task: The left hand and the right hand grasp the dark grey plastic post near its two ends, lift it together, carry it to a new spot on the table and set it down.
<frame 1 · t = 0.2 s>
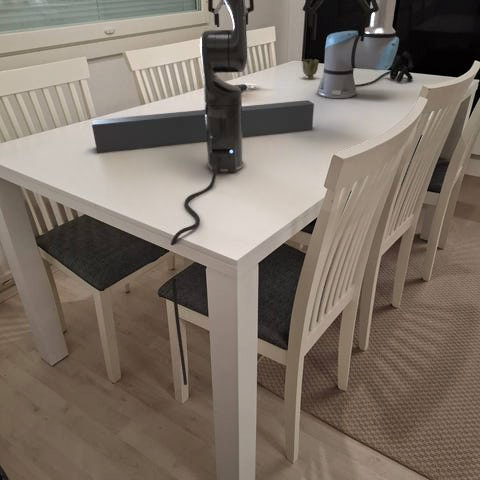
left hand: (231, 26, 142), 29 cm above the table, tool pointing down, fingers open, 8 cm apart
right hand: (337, 40, 126), 27 cm above the table, tool pointing down, fingers open, 13 cm apart
cup: (309, 78, 206), on the table
squiggle: (399, 80, 200), on the table
spray bottle: (234, 93, 185), on the table
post: (208, 138, 139), on the table
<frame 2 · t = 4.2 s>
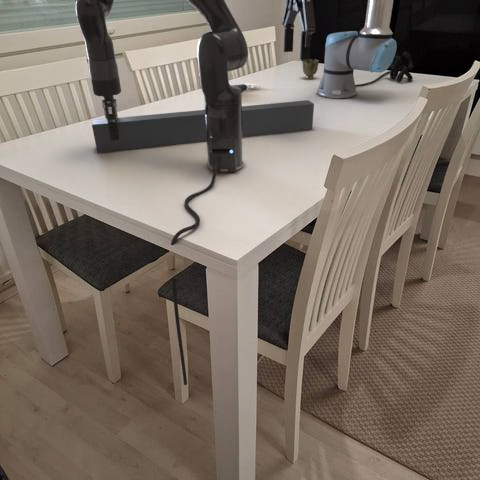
left hand: (115, 136, 131), 4 cm above the table, tool pointing down, fingers closed on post, 4 cm apart
right hand: (296, 55, 133), 22 cm above the table, tool pointing down, fingers open, 13 cm apart
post: (208, 138, 139), on the table, touching left hand
everything else where it was.
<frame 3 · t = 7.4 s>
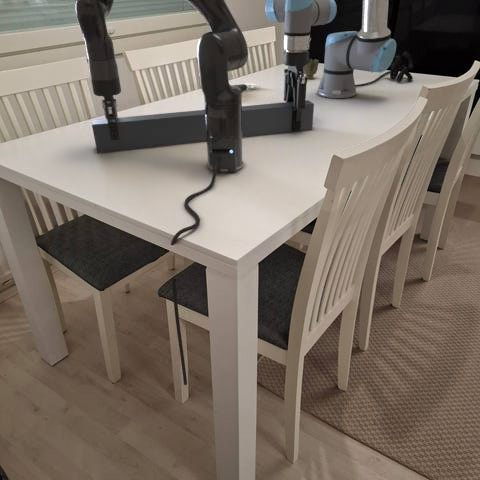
left hand: (115, 136, 131), 4 cm above the table, tool pointing down, fingers closed on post, 4 cm apart
right hand: (292, 127, 144), 1 cm above the table, tool pointing down, fingers closed on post, 5 cm apart
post: (208, 138, 139), on the table, touching left hand, right hand
everything else where it was.
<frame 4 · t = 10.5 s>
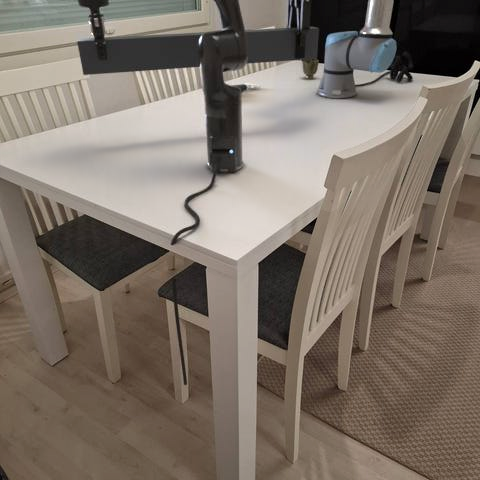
left hand: (103, 57, 120), 25 cm above the table, tool pointing down, fingers closed on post, 4 cm apart
right hand: (296, 56, 134), 22 cm above the table, tool pointing down, fingers closed on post, 5 cm apart
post: (205, 64, 128), point 21 cm above the table, touching left hand, right hand
everything else where it was.
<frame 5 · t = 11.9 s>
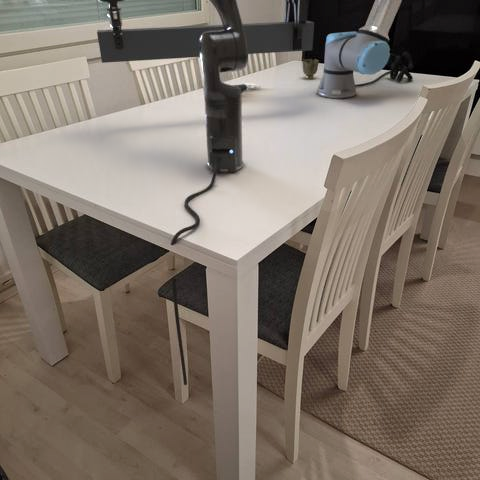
left hand: (119, 47, 134), 25 cm above the table, tool pointing down, fingers closed on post, 4 cm apart
right hand: (294, 47, 147), 22 cm above the table, tool pointing down, fingers closed on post, 5 cm apart
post: (211, 55, 142), point 21 cm above the table, touching left hand, right hand
everything else where it was.
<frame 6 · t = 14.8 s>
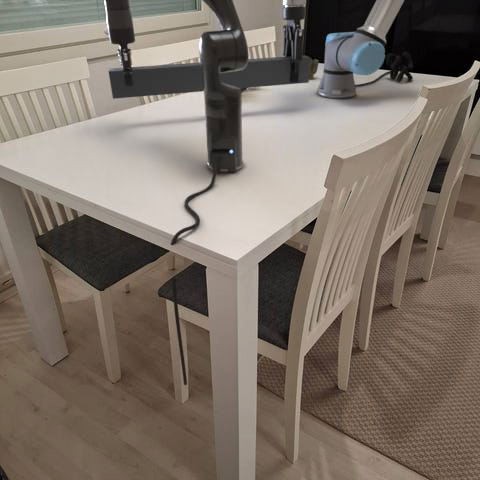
left hand: (129, 83, 144), 14 cm above the table, tool pointing down, fingers closed on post, 4 cm apart
right hand: (291, 80, 157), 11 cm above the table, tool pointing down, fingers closed on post, 5 cm apart
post: (214, 88, 152), point 10 cm above the table, touching left hand, right hand
everything else where it was.
when the right hand's fingers open (2 cm above the table, at t = 16.8 s): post drops 1 cm, on the table.
when the left hand's fingers open (5 cm above the table, at t = 16.9 s): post stays where it is, on the table.
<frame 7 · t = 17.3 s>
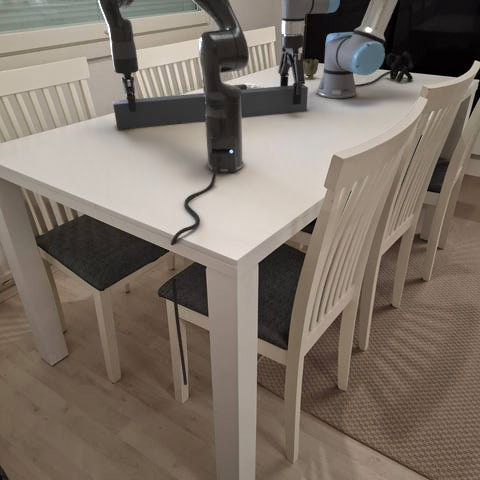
left hand: (132, 108, 148), 6 cm above the table, tool pointing down, fingers open, 8 cm apart
right hand: (289, 99, 161), 4 cm above the table, tool pointing down, fingers open, 12 cm apart
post: (215, 117, 157), on the table
everything else where it was.
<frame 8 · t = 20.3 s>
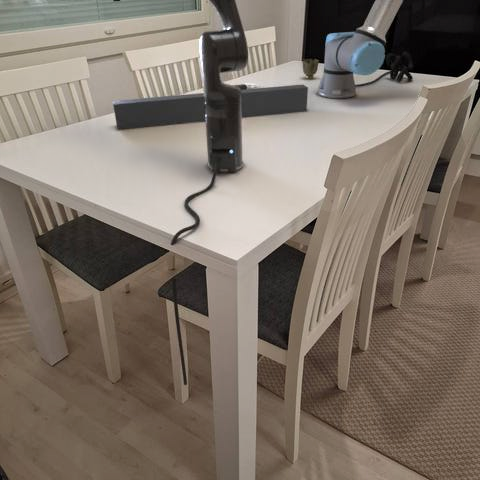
left hand: (116, 0, 131), 37 cm above the table, tool pointing down, fingers open, 8 cm apart
nothing on the table moved.
at the end: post inside the target area (0.2 cm from its centre), on the table; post tilted 0°; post never tilted more than 1° during the clip; both hands held the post at the same time; the left hand is holding nothing; the right hand is holding nothing; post at rest at the end (0.0 cm/s) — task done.
